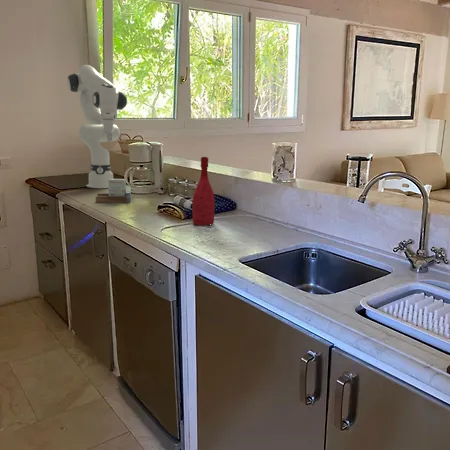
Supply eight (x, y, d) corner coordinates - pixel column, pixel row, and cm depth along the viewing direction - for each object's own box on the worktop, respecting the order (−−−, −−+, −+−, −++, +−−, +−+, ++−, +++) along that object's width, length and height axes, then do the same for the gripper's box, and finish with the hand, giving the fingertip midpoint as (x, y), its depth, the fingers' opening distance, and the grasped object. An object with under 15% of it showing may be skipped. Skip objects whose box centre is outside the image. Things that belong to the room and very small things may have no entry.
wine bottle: (217, 222, 210) (219, 156, 203) (209, 227, 201) (211, 158, 194) (197, 220, 213) (198, 155, 206) (188, 225, 204) (189, 157, 197)
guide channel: (97, 198, 256) (97, 189, 254) (130, 198, 259) (130, 189, 258) (95, 202, 246) (95, 193, 244) (130, 202, 249) (130, 193, 248)
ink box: (126, 200, 254) (126, 178, 252) (124, 201, 250) (123, 180, 247) (111, 199, 255) (110, 178, 252) (108, 201, 250) (108, 179, 247)
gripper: (104, 114, 260) (105, 139, 263) (101, 115, 240) (102, 142, 244) (115, 115, 261) (116, 139, 264) (113, 115, 241) (114, 142, 245)
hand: (109, 141), depth 254 cm, fingers open, 8 cm apart
